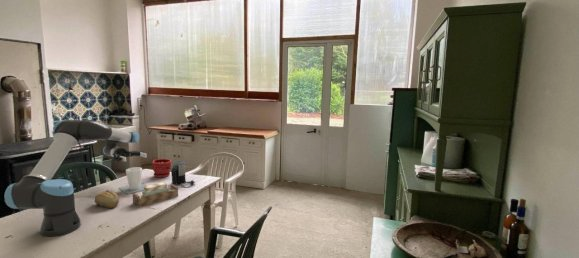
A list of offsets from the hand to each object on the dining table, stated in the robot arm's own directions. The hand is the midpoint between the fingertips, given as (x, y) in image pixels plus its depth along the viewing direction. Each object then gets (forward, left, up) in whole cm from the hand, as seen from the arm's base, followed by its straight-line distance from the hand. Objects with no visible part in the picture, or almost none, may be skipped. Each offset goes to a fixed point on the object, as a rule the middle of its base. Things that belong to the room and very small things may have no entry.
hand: (136, 157), depth 188 cm
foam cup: (-1, +3, -22) cm, 22 cm away
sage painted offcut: (+1, -25, -18) cm, 31 cm away
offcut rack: (+1, -25, -22) cm, 33 cm away
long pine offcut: (+1, -25, -20) cm, 32 cm away
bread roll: (-22, -14, -22) cm, 34 cm away
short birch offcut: (+1, -25, -15) cm, 29 cm away
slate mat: (-1, +3, -22) cm, 22 cm away
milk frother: (+27, -9, -22) cm, 36 cm away
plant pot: (+24, +18, -22) cm, 38 cm away
